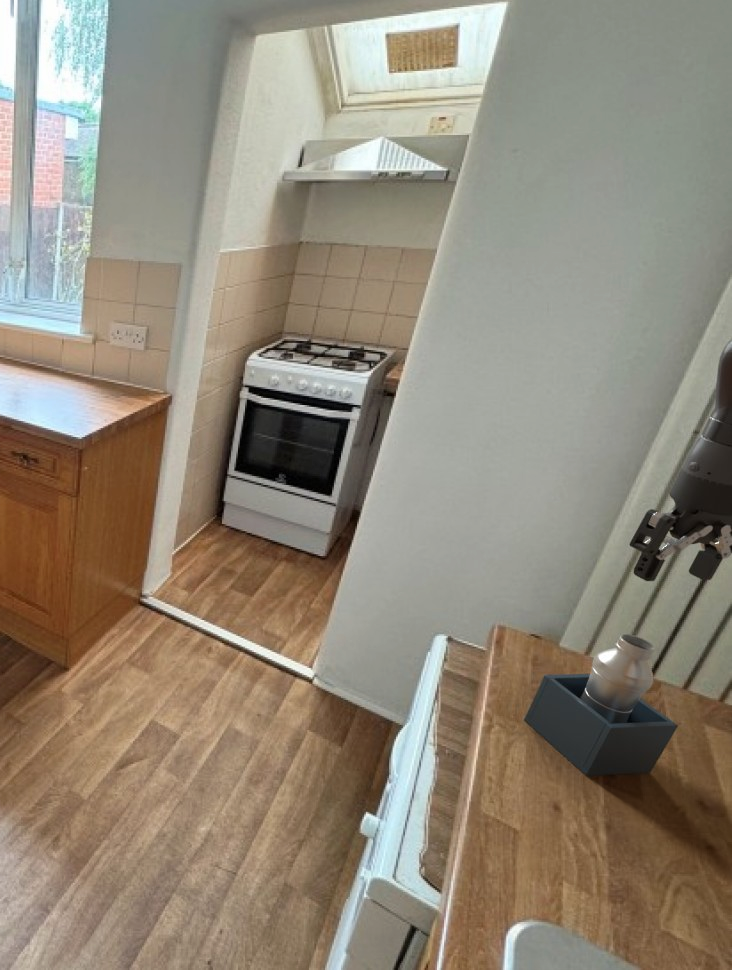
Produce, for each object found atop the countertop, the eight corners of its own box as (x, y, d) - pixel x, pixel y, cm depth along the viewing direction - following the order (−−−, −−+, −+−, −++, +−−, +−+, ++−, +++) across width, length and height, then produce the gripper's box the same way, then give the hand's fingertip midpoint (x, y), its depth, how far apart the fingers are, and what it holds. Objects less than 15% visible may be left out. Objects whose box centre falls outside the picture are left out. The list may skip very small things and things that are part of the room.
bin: (650, 773, 92) (678, 725, 88) (585, 776, 91) (611, 728, 88) (582, 717, 102) (605, 672, 98) (523, 720, 101) (544, 674, 97)
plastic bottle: (580, 757, 93) (633, 655, 86) (548, 722, 99) (595, 625, 92) (626, 762, 92) (684, 660, 85) (591, 727, 99) (642, 629, 91)
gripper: (708, 487, 75) (653, 594, 81) (812, 485, 76) (750, 592, 82) (643, 463, 82) (597, 563, 88) (739, 461, 83) (686, 561, 88)
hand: (670, 577), depth 85 cm, fingers open, 8 cm apart
